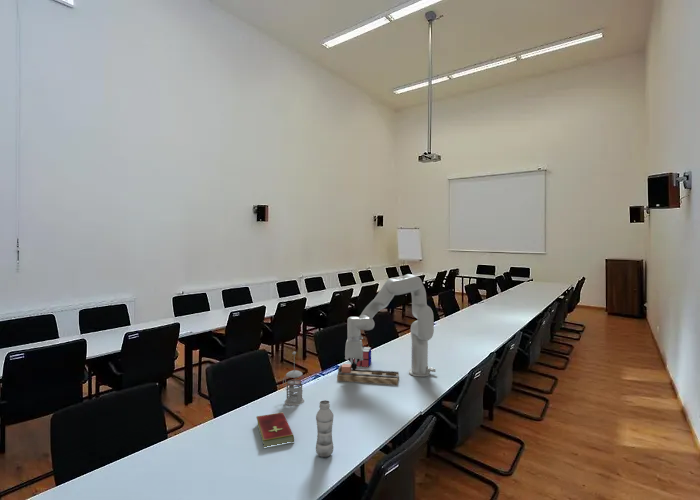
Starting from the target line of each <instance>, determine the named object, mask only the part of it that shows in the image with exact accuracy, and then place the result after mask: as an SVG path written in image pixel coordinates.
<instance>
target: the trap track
mask: <svg viewBox="0 0 700 500" xmlns="http://www.w3.org/2000/svg"><path fill="white" fill-rule="evenodd" d="M342 365H343V364H340V365H339V367H338V368H337V370H338V371H337V377H336V381H337V382H339V381H340V382H350V383H351V382H353V383H364V384H365V383H366V384H368V383H369V384H380V385H381V384H382V385H392V386H393V385H397V386H398V385H399V383H398V382H399V375H400V373H399V371H394V370H378V369H377V370H376V369H361V368H357V369H356V370H355V371H354V370H353V371H352V368H351V373H342Z"/></svg>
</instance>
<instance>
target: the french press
mask: <svg viewBox="0 0 700 500" xmlns="http://www.w3.org/2000/svg"><path fill="white" fill-rule="evenodd" d="M296 354H297V351H293V352H292V354H291V355H293V370H290V371H288V372H287V373H285V376H284V377H283V380H282V385H283V387H284V389H285V390H286V399H285V400H284V404H285V405H287V406H291V407H292V406H300V405H301V404H302V405H303V404H304V403H305V399H304V398H303V383H302V380H300V379H297V378H300V377H303V375H304V374H303V372H302V371H300V370H298V369H296V367H295V366H296V365H295V357H296V356H295V355H296ZM289 378H291V379H289ZM292 378H293V379H292ZM287 379H289V380H287ZM284 381H285V382H284ZM284 384H285V386H286V387H285V386H284Z"/></svg>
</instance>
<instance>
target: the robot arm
mask: <svg viewBox="0 0 700 500" xmlns="http://www.w3.org/2000/svg"><path fill="white" fill-rule="evenodd" d="M409 293H410V294H411V313H412V316H413V317H414V318H416V319H417V320H415V321H412V323H411V325H410V337H411V368H409V370H408V373H409V375H411V376H413V377H418V378H425V377H429V376H430V375H431V372H433V373H436V368H434V367H430V366H429V363H428V362H429V357H428V356H429V355H428V354H429V351H428V350H429V348H428V347H429V344H428V342H429V341H430V340H431V339H432V338H433V337H434V332H435V331H434V330H435V326H434V321H435V320H434V318H435V317H434V312H433V310H432V308H431V306H429V305H428V304H427V300H428V299H427V292H426V288H425V286H424V284H423V281H422V279H421V278H420V276H417V275H414V274H411V273H407V274H404V276H403V277H402V278H401V279H394V278H388V279H387V280H386V281H385V283H384V284H383V285H382V286H381V288H380V290H379V292H378V293H377V294H376V295H375V297H374V299H372V300H371V301H370V302H369V303H368V304H367V305H366V306H365V307H364V309H363V310H362V312H361V314H360V315H359V316H349V317H348V318H347V326H346V327H347V330H346V331H347V339H346V342H345V348H344V349H345V350H344V356H345V357H344V359H345V360H347V361H349V362H350V364H351V369H352V371H353V370H354V371H355V370H356V369H358V367H357V362H359V361H361V360H363V347H364V345H363V341H362V340H363V339H364V337H363V335H362V334H361V331H371V330H373V329H374V328H375V324H376V323H375V321H374V319H373V318H374V317H375V315H377V313H378V312H380V311H381V310H384V309H385V308H387V307H388V306H389V304H390V302H392V300H393V299H394V297H395V296H400V295H405V294H409ZM353 359H355V362H354V361H353Z"/></svg>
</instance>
